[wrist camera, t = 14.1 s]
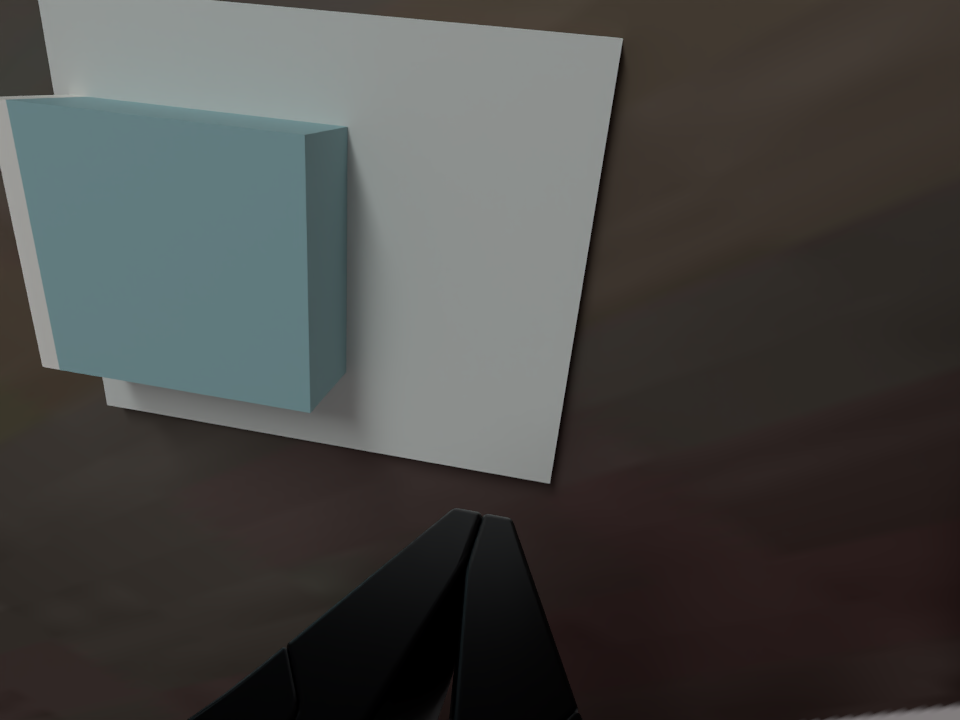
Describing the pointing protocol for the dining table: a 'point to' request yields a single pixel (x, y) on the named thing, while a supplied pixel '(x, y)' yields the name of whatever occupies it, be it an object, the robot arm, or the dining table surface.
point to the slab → (181, 245)
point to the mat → (398, 204)
